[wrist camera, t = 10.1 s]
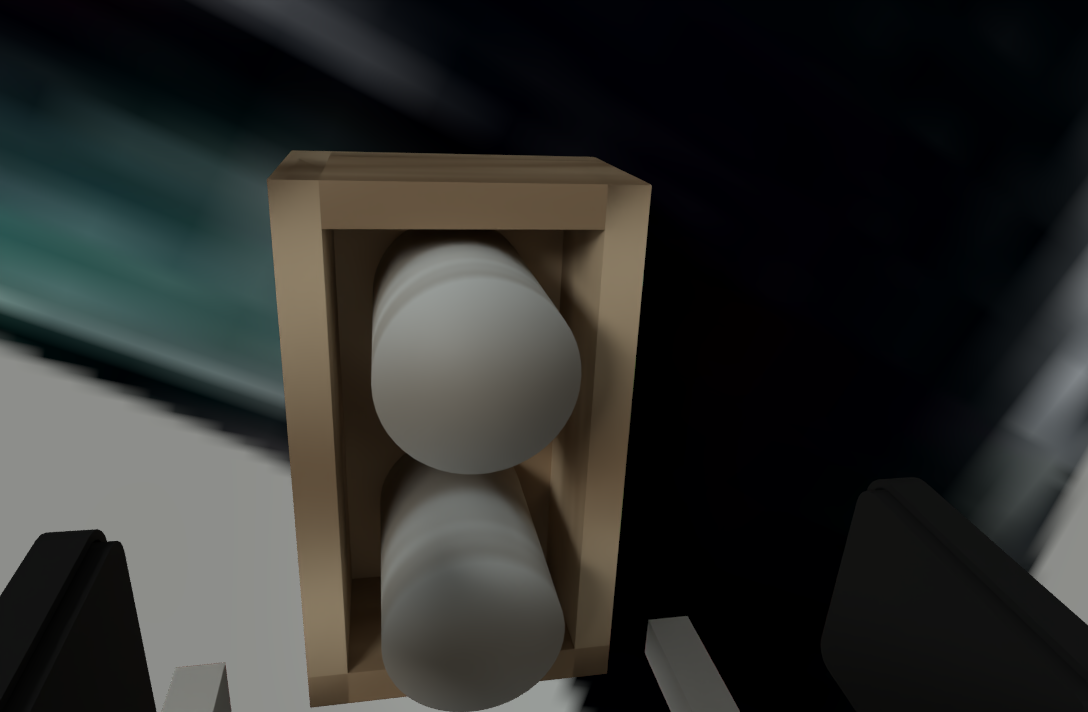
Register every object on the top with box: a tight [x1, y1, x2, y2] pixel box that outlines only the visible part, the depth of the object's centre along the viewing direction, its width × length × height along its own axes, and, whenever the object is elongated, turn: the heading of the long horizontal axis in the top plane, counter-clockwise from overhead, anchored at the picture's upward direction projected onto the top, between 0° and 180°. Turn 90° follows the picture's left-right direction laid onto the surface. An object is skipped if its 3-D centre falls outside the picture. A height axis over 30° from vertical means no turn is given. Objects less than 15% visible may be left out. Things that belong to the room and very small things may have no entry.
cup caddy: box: [267, 151, 652, 712], centre depth 16 cm, size 11×6×6 cm, turn 177°
